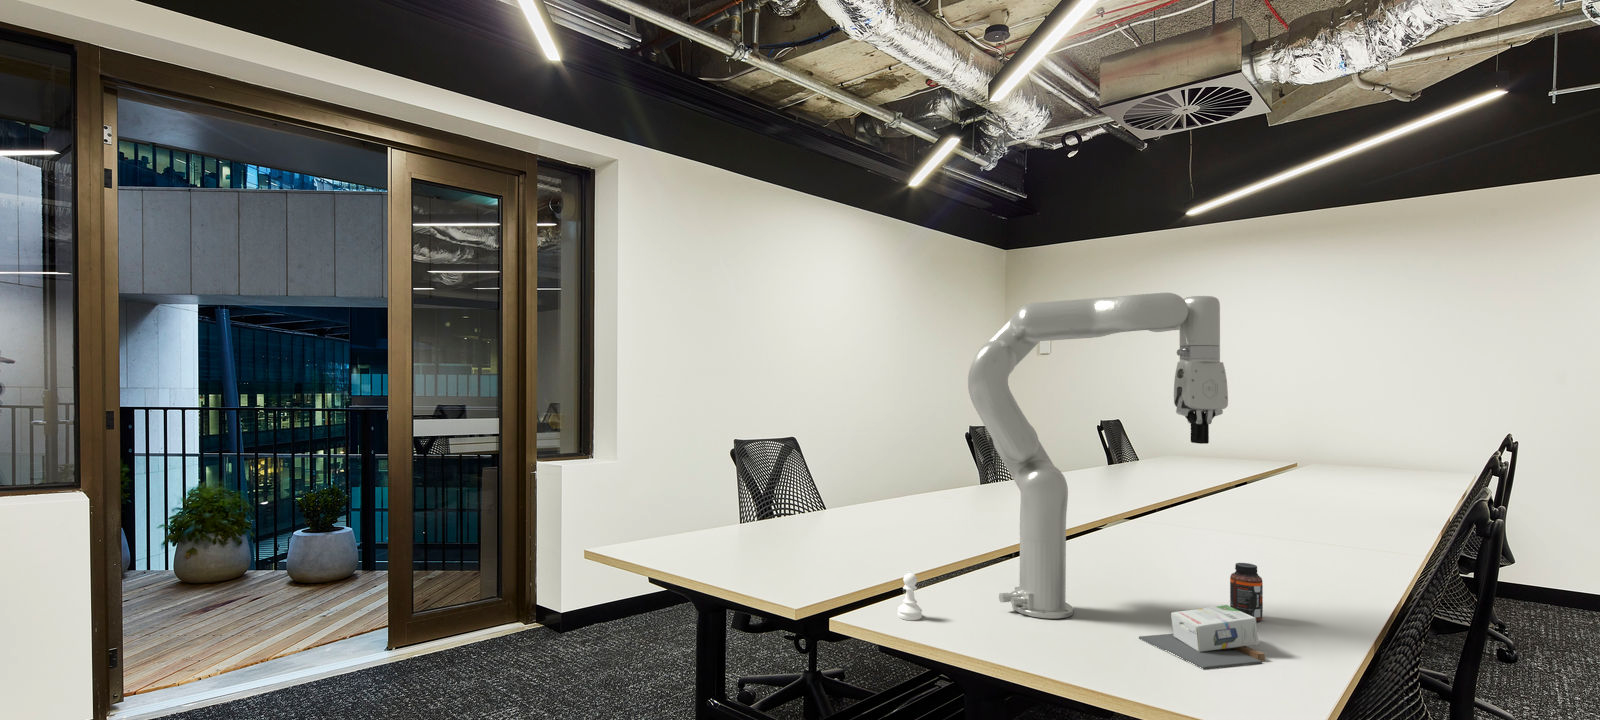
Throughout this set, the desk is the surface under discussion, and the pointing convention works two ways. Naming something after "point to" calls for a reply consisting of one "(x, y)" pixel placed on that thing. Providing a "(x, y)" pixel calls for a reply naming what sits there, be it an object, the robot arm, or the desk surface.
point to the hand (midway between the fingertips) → (1199, 442)
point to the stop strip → (1251, 652)
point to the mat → (1200, 653)
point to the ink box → (1214, 628)
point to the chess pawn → (909, 600)
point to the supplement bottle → (1247, 590)
